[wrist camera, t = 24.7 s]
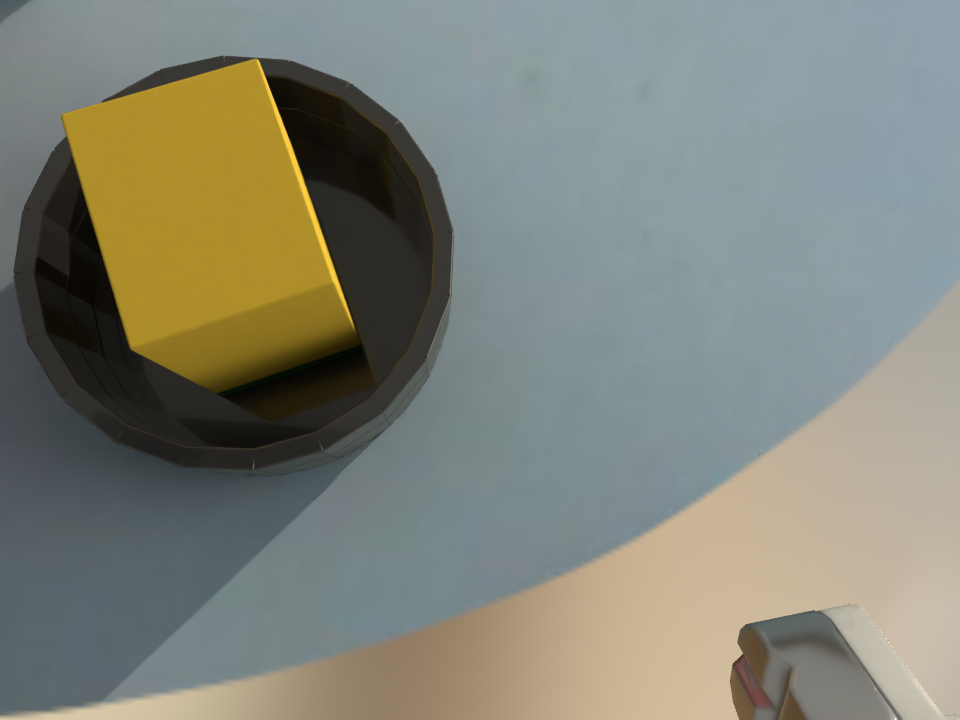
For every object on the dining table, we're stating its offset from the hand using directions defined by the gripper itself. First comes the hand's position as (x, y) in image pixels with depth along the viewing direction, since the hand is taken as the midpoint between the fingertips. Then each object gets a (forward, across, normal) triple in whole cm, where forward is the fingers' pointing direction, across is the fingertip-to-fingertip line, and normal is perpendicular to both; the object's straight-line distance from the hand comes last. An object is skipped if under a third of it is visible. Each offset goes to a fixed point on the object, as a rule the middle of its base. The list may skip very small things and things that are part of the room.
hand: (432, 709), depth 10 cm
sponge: (+18, +3, +3) cm, 19 cm away
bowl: (+19, +3, +4) cm, 19 cm away
